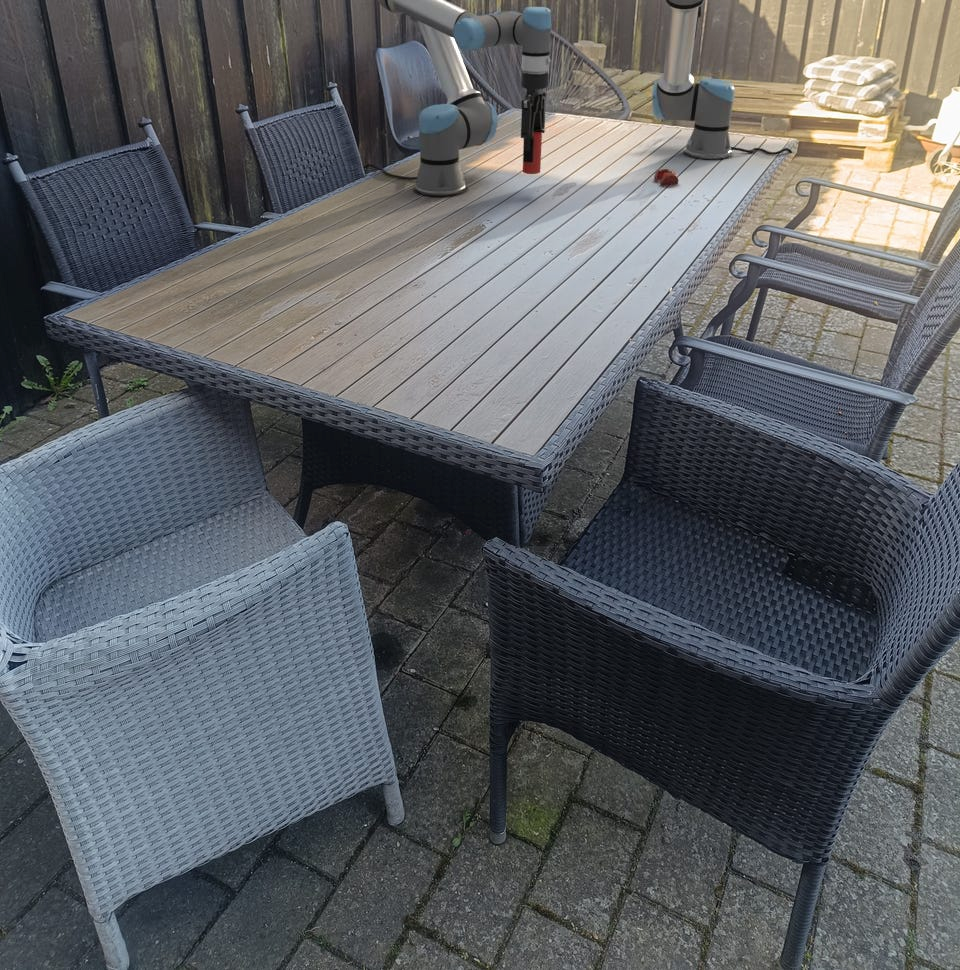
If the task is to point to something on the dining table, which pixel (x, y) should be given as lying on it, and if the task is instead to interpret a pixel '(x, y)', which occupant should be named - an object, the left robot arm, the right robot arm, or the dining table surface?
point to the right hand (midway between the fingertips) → (685, 36)
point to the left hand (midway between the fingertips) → (531, 159)
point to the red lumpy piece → (666, 177)
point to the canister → (534, 156)
